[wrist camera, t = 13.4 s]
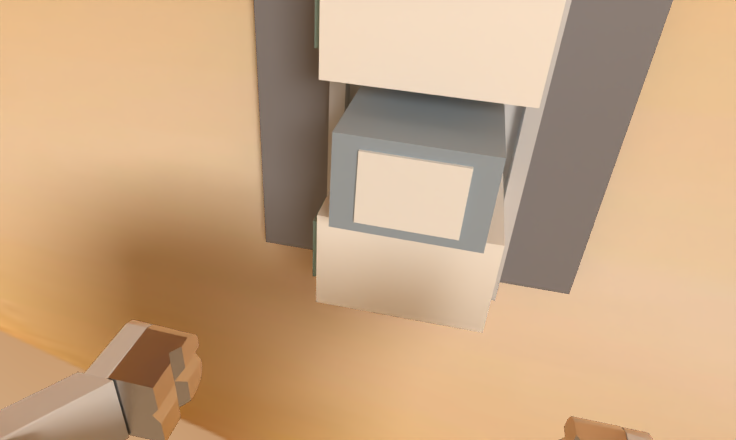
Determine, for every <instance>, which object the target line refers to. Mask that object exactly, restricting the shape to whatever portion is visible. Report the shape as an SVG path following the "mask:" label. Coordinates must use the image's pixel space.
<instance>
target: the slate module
mask: <svg viewBox="0 0 736 440" xmlns="http://www.w3.org/2000/svg"><path fill="white" fill-rule="evenodd" d="M505 161H506V136H505V105H504V104H501V103H494V102H486V101H478V100H471V99H463V98H455V97H448V96H440V95H432V94H425V93H417V92H409V91H402V90H394V89H386V88H379V87H371V86H363V85H361V87H360V88H359V90H358V92H357V93H356V95H355V96H354V98H353V100H352V101H351V103H350V104H349V106H348V108H347V109H346V111H345V112H344V114H343V116H342V117H341V119H340V120H339V122H338V124H337V125H336V127H335V128H334V130H333V132H332V151H331V177H330V204H329V227H334V228H340V229H345V230H351V231H357V232H363V233H368V234H374V235H380V236H386V237H391V238H397V239H403V240H409V241H414V242H420V243H426V244H432V245H437V246H443V247H449V248H455V249H460V250H466V251H472V252H478V253H483V254H484V250H485V245H486V241H487V237H488V233H489V229H490V224H491V220H492V216H493V212H494V208H495V203H496V199H497V195H498V191H499V187H500V182H501V178H502V174H503V170H504V166H505Z"/></svg>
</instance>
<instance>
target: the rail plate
mask: <svg viewBox="0 0 736 440" xmlns="http://www.w3.org/2000/svg"><path fill="white" fill-rule="evenodd" d="M672 2H673V0H254V13H255V32H256V52H257V71H258V91H259V111H260V130H261V150H262V169H263V189H264V208H265V228H266V242H270V243H276V244H282V245H287V246H293V247H299V248H305V249H311V250H313V276H316V302H319V303H325V304H330V305H335V306H341V307H346V308H352V309H357V310H362V311H368V312H373V313H379V314H384V315H389V316H395V317H400V318H406V319H411V320H416V321H422V322H427V323H433V324H438V325H443V326H449V327H454V328H460V329H465V330H470V331H476V332H481V333H483V330H484V326H485V322H486V318H487V314H488V310H489V306H490V302H491V300H494V301H495V298H496V294H497V290H498V286H499V283H500V282H502V283H508V284H514V285H519V286H525V287H531V288H537V289H543V290H548V291H554V292H560V293H566V294H569V293H570V290H571V287H572V284H573V282H574V279H575V276H576V273H577V270H578V267H579V265H580V262H581V259H582V256H583V253H584V251H585V248H586V245H587V242H588V239H589V236H590V234H591V231H592V228H593V225H594V222H595V219H596V217H597V214H598V211H599V208H600V205H601V202H602V200H603V197H604V194H605V191H606V188H607V185H608V183H609V180H610V177H611V174H612V171H613V168H614V166H615V163H616V160H617V157H618V154H619V152H620V149H621V146H622V143H623V140H624V137H625V135H626V132H627V129H628V126H629V123H630V120H631V118H632V115H633V112H634V109H635V106H636V103H637V101H638V98H639V95H640V92H641V89H642V86H643V84H644V81H645V78H646V75H647V72H648V70H649V67H650V64H651V61H652V58H653V55H654V53H655V50H656V47H657V44H658V41H659V38H660V36H661V33H662V30H663V27H664V24H665V21H666V19H667V16H668V13H669V10H670V7H671V4H672ZM361 85H363V86H371V87H379V88H386V89H394V90H402V91H409V92H417V93H425V94H432V95H440V96H448V97H455V98H463V99H471V100H478V101H486V102H494V103H501V104H504V105H505V136H506V161H505V166H504V170H503V174H502V178H501V182H500V187H499V191H498V195H497V199H496V203H495V208H494V212H493V216H492V220H491V224H490V229H489V233H488V237H487V241H486V245H485V250H484V254H483V253H478V252H472V251H466V250H460V249H455V248H449V247H443V246H437V245H432V244H426V243H420V242H414V241H409V240H403V239H397V238H391V237H386V236H380V235H374V234H368V233H363V232H357V231H351V230H345V229H340V228H334V227H329V204H330V177H331V151H332V132H333V130H334V128H335V127H336V125H337V124H338V122H339V120H340V119H341V117H342V116H343V114H344V112H345V111H346V109H347V108H348V106H349V104H350V103H351V101H352V100H353V98H354V96H355V95H356V93H357V92H358V90H359V88H360V87H361Z"/></svg>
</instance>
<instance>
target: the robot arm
mask: <svg viewBox="0 0 736 440" xmlns="http://www.w3.org/2000/svg"><path fill="white" fill-rule="evenodd" d="M198 347H199V342H198V337H197V335H194V334H191V333H187V332H183V331H179V330H175V329H171V328H167V327H162V326H158V325H154V324H150V323H146V322H141V321H137V320H131V321H130V322H128V323H126V324H125V325H124V326H123V328H122V329H121V330H120V331H119V332H118V334H117V335H116V336H115V337H114V338H113V339H112V341H111V342H110V343H109V344H108V345H107V347H106V348H105V349H104V350H103V351H102V353H101V354H100V355H99V356H98V357H97V359H96V360H95V361H94V362H93V363H92V364H91V366H90V367H89V368H88V369H87V370H86V372H85V373H81V372H77V373H75V374H73V375H71V376H69V377H67V378H65V379H63V380H61V381H59V382H57V383H55V384H53V385H50V386H48V387H46V388H44V389H42V390H40V391H38V392H36V393H34V394H32V395H30V396H28V397H26V398H24V399H22V400H20V401H18V402H15V403H13V404H11V405H10V406H7V407H5V408H3V409H1V410H0V440H126V439H128V438H129V435H132V436H136V437H141V438H145V439H150V440H168V438H169V436H170V435H171V433H172V431H173V430H174V428H175V426H176V425H177V423H178V421H179V420H180V418H181V414H180V408H179V407H181V406H182V405H184V404H186V403H188V402H189V401H191V399H192V398H193V396H194V394H195V392H196V391H197V388H198V385H199V382H200V379H201V375H202V362H201V359H200V358H199V356H198V355H197V354H196V353H195V352H196V350H197V349H198ZM564 432H565V437H564V438H562V439H560V440H653V438H652V437H651V435H650V434H649V433H646V432H642V431H637V430H633V429H628V428H624V427H620V426H617V425H612V424H607V423H602V422H597V421H592V420H587V419H583V418H578V417H573V416H571V417H570V418H568V419H567V421H566V424H565V426H564Z"/></svg>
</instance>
